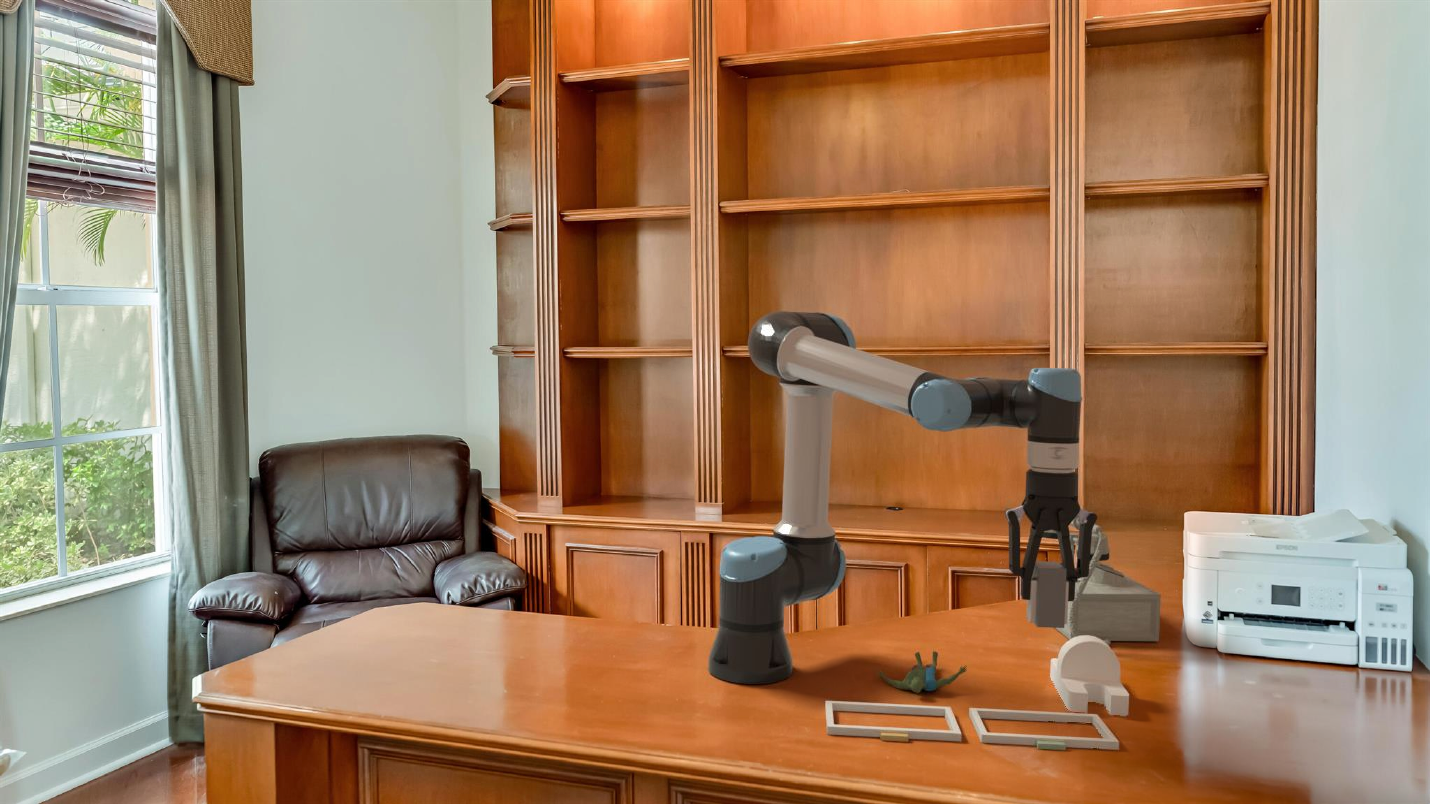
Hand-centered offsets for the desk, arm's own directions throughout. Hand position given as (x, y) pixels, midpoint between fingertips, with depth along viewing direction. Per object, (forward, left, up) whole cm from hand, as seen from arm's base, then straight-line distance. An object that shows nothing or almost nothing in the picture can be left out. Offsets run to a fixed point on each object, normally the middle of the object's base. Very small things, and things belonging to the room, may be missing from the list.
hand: (1046, 620), depth 153 cm
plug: (0, 0, 0) cm, 0 cm away
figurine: (-16, +20, -18) cm, 32 cm away
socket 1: (-23, 0, -17) cm, 29 cm away
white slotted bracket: (+12, +18, -18) cm, 28 cm away
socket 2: (0, 0, -17) cm, 17 cm away
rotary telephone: (+24, +60, -18) cm, 67 cm away
